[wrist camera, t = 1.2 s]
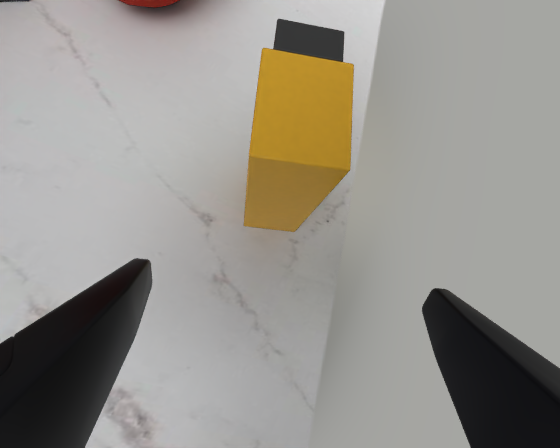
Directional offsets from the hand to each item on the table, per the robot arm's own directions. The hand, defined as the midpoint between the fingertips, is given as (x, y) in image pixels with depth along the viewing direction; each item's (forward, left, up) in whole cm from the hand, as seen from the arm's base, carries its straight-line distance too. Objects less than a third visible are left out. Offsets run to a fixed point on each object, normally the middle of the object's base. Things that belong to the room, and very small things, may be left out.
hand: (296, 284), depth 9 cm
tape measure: (+7, +1, -13) cm, 15 cm away
